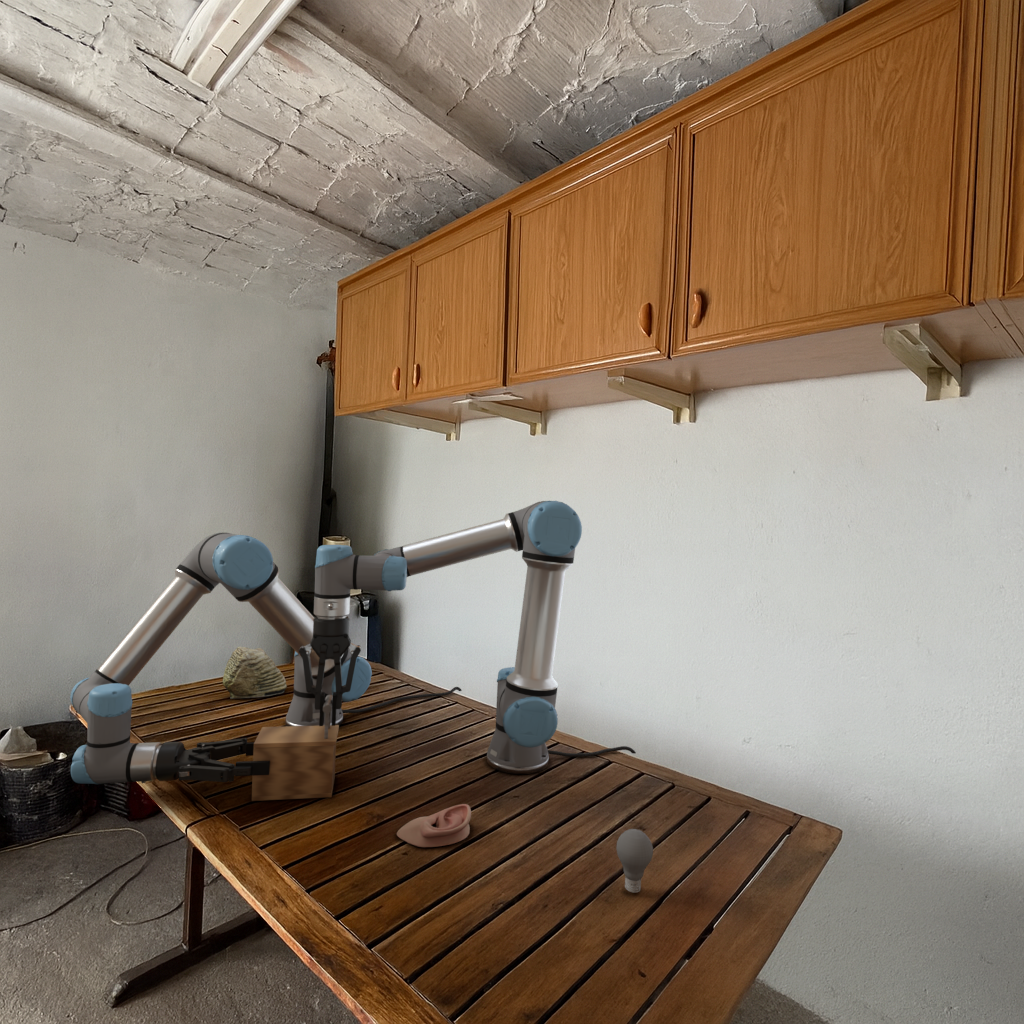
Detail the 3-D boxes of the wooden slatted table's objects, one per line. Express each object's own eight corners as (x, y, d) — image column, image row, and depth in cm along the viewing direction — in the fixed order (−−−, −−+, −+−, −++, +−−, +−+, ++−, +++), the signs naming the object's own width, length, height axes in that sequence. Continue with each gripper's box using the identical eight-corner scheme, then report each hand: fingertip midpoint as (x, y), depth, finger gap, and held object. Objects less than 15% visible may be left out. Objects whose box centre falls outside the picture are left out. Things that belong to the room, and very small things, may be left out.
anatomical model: (391, 821, 117) (413, 793, 128) (390, 842, 117) (412, 813, 128) (460, 832, 114) (476, 802, 125) (459, 853, 114) (475, 822, 126)
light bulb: (610, 879, 108) (613, 822, 108) (644, 879, 109) (647, 822, 109) (619, 902, 102) (622, 840, 102) (655, 901, 103) (658, 840, 103)
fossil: (218, 695, 195) (220, 647, 195) (278, 685, 208) (279, 640, 207) (228, 703, 189) (230, 653, 188) (289, 692, 201) (290, 645, 201)
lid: (338, 729, 143) (340, 692, 143) (335, 745, 134) (337, 706, 134) (262, 731, 140) (263, 693, 140) (253, 748, 130) (255, 708, 130)
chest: (334, 777, 143) (336, 729, 143) (331, 797, 134) (333, 745, 134) (260, 780, 140) (262, 731, 140) (251, 801, 131) (253, 748, 130)
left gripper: (176, 757, 142) (281, 754, 147) (139, 805, 120) (263, 799, 125) (177, 724, 142) (282, 721, 147) (140, 766, 120) (264, 761, 125)
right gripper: (293, 619, 132) (289, 731, 133) (366, 619, 135) (362, 728, 136) (298, 612, 140) (294, 718, 140) (367, 613, 143) (363, 716, 143)
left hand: (273, 757), depth 136 cm, fingers closed on chest, 10 cm apart
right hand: (327, 723), depth 138 cm, fingers closed on lid, 2 cm apart
